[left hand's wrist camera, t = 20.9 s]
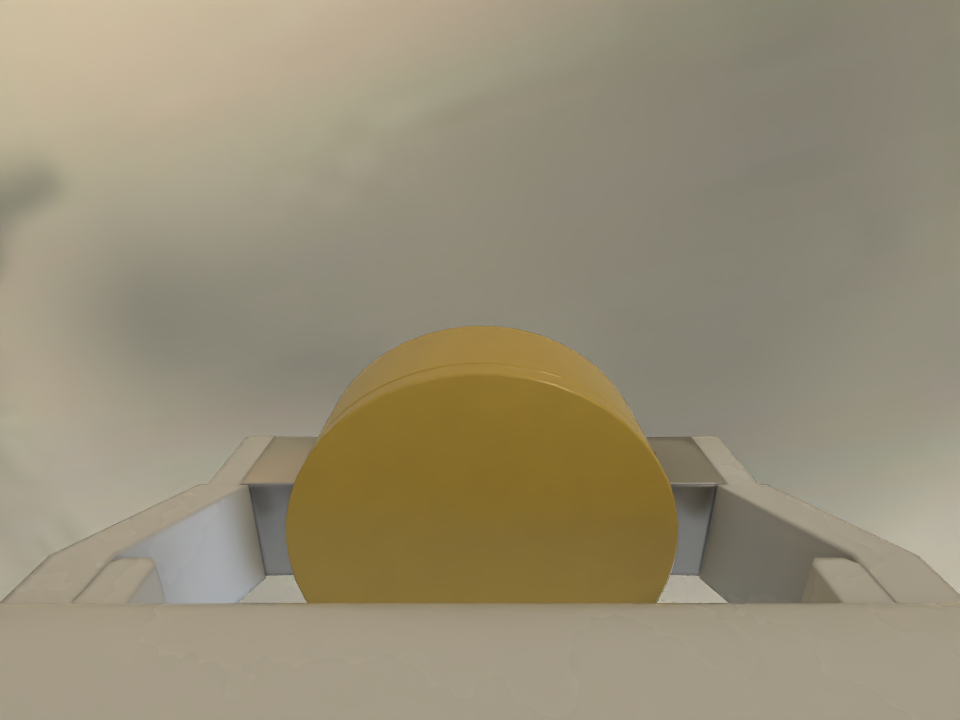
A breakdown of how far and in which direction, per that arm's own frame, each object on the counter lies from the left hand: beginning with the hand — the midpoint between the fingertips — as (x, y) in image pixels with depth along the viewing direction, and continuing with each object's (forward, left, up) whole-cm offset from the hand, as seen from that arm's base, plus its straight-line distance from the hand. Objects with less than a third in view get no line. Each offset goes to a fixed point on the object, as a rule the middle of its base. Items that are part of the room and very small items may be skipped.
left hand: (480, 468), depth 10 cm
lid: (0, 0, +2) cm, 2 cm away
